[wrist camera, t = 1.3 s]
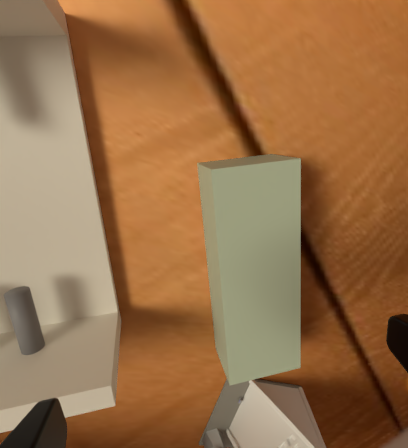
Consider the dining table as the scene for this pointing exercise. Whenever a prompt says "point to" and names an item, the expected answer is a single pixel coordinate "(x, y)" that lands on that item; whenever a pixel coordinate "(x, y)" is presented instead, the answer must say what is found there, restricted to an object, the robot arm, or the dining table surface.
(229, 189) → the shelf board
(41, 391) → the tray
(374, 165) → the dining table surface
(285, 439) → the skyscraper
